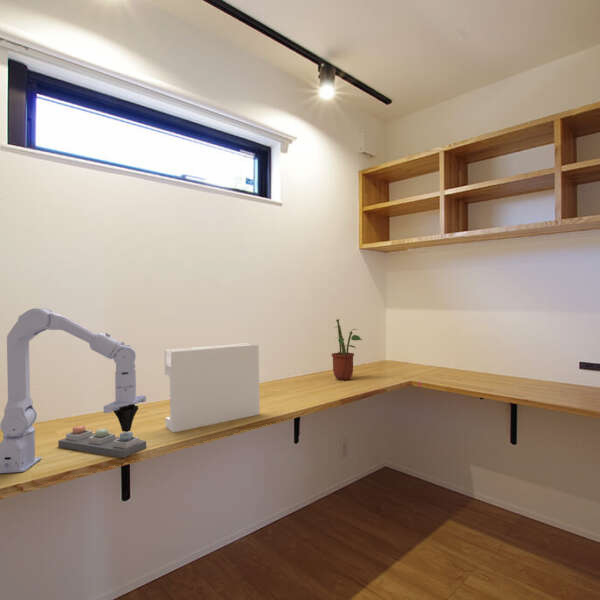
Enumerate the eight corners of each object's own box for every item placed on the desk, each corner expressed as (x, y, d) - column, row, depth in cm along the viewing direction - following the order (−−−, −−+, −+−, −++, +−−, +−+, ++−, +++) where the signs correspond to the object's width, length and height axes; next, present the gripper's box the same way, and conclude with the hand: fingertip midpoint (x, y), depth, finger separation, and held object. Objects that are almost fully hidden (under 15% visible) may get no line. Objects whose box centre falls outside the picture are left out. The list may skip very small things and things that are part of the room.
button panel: (146, 447, 123) (146, 435, 123) (123, 458, 114) (123, 445, 114) (83, 438, 133) (83, 427, 133) (58, 447, 125) (58, 435, 125)
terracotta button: (88, 430, 128) (88, 426, 128) (78, 434, 125) (78, 429, 125) (80, 429, 130) (80, 424, 130) (70, 432, 126) (70, 428, 126)
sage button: (110, 433, 125) (110, 429, 125) (101, 437, 121) (101, 432, 121) (102, 432, 126) (102, 428, 126) (92, 436, 123) (92, 431, 123)
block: (173, 432, 137) (172, 351, 138) (165, 427, 144) (164, 349, 144) (259, 414, 159) (258, 344, 159) (249, 410, 165) (248, 343, 165)
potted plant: (334, 381, 223) (332, 319, 224) (329, 377, 239) (328, 319, 239) (364, 380, 225) (363, 319, 225) (358, 376, 240) (356, 318, 241)
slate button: (135, 437, 121) (135, 432, 121) (126, 441, 118) (126, 436, 118) (126, 436, 122) (126, 431, 122) (116, 439, 119) (116, 434, 119)
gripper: (116, 391, 112) (116, 440, 112) (153, 382, 125) (153, 425, 125) (98, 390, 115) (98, 437, 114) (136, 381, 128) (136, 423, 128)
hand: (126, 430), depth 120 cm, fingers closed
